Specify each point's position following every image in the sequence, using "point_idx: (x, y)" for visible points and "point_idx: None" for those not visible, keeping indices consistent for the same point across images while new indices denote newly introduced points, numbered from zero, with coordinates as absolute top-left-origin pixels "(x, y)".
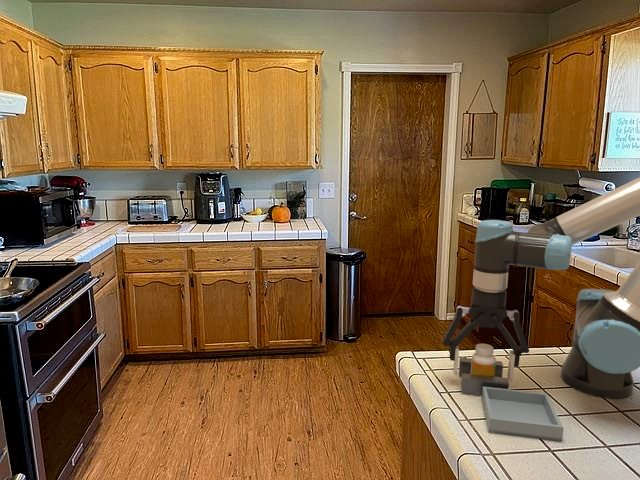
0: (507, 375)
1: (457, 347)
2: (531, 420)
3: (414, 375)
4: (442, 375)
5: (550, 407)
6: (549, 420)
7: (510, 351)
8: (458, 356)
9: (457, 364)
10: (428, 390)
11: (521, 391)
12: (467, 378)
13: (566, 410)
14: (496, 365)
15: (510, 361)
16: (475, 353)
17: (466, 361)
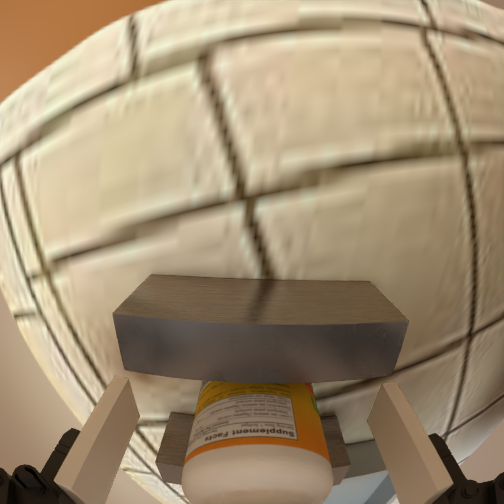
0: (382, 386)
1: (80, 502)
2: (342, 492)
3: (19, 325)
4: (89, 317)
5: (394, 495)
6: (381, 481)
7: (429, 498)
8: (110, 488)
9: (121, 454)
10: (82, 413)
11: (366, 476)
12: (181, 484)
13: (450, 423)
14: (355, 377)
15: (399, 482)
16: (199, 498)
17: (161, 368)
